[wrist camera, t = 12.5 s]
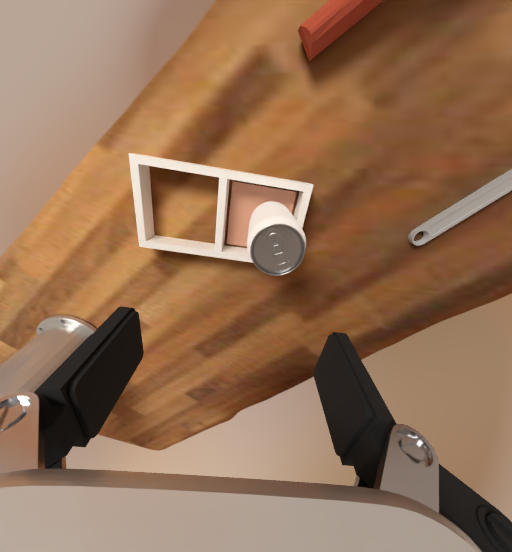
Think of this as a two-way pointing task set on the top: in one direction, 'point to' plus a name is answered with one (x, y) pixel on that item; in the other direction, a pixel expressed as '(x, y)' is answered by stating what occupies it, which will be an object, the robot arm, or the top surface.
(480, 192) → the adjustable wrench
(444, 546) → the robot arm
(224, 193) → the caddy
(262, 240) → the can
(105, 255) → the top surface
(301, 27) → the mallet
